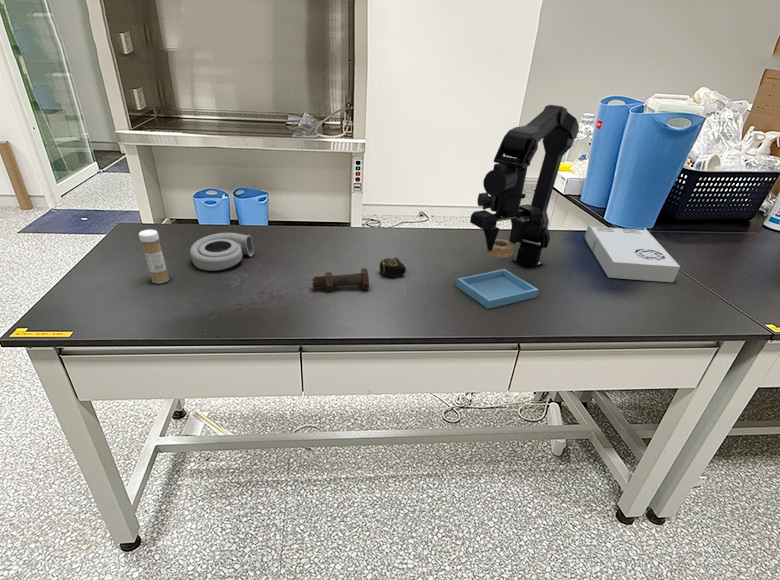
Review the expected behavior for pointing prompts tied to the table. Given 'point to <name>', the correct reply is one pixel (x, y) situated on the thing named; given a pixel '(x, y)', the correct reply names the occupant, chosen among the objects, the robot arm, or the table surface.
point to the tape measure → (392, 267)
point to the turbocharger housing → (221, 251)
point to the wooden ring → (502, 248)
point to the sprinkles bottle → (154, 256)
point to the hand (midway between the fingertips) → (500, 248)
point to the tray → (496, 288)
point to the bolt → (342, 280)
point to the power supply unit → (631, 254)
